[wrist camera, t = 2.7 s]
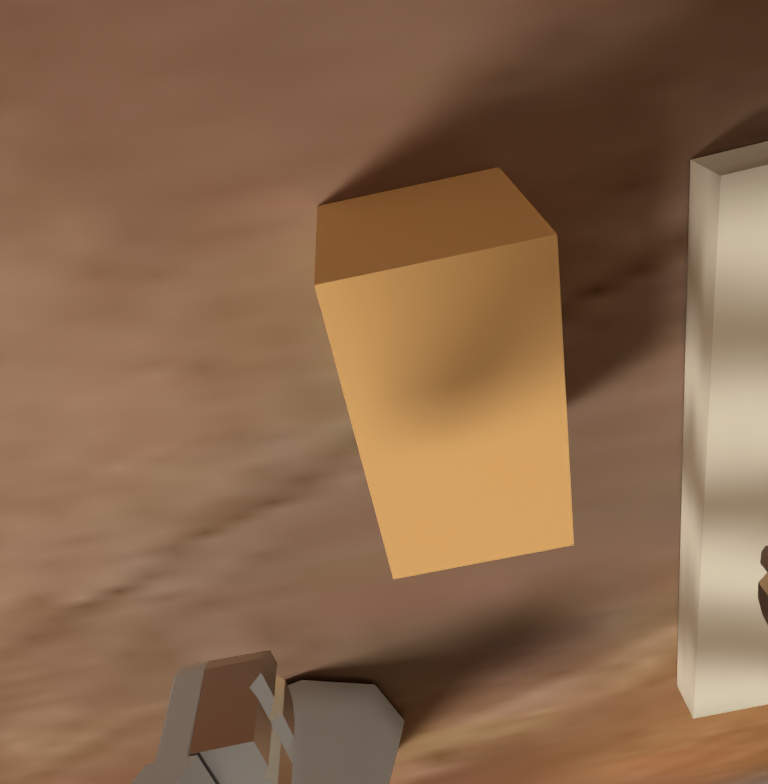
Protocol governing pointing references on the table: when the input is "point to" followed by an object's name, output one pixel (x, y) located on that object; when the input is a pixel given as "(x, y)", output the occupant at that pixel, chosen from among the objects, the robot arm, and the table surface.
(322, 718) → the flask
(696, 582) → the birch board
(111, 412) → the table surface
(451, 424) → the block
